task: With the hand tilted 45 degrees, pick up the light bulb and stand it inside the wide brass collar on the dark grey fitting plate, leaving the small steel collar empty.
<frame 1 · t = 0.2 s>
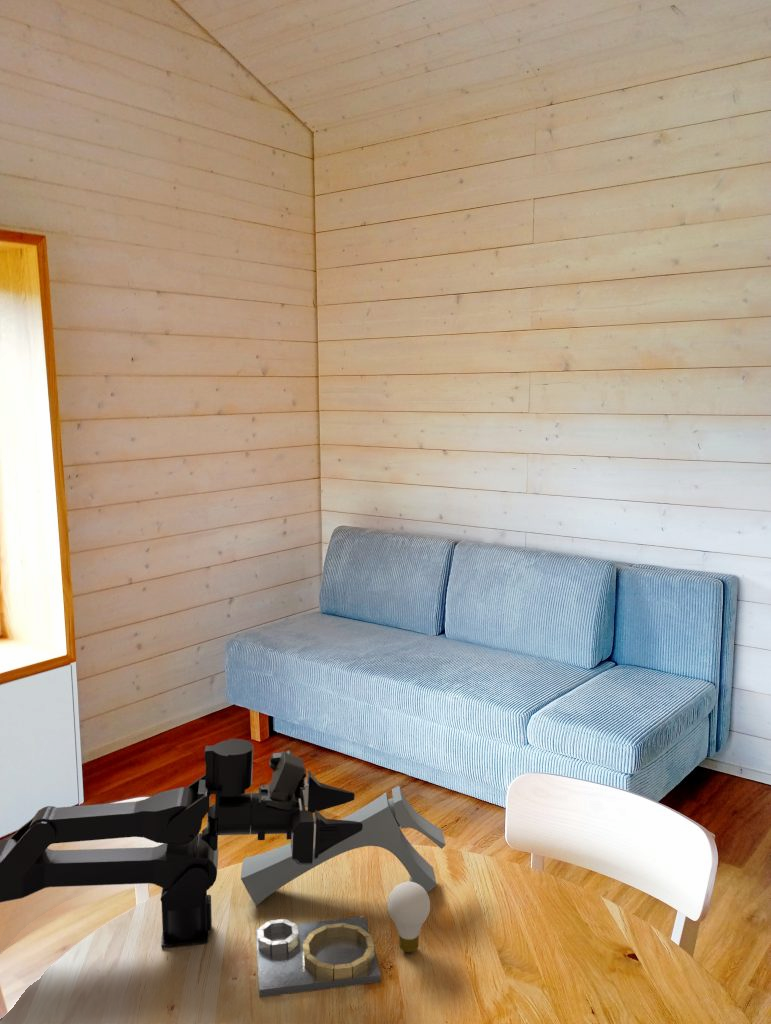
hand: (358, 810, 126), 17 cm above the table, tool horizontal, fingers open, 9 cm apart
fitting plate: (315, 957, 119), on the table
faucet: (343, 893, 134), on the table
light bulb: (408, 952, 120), on the table
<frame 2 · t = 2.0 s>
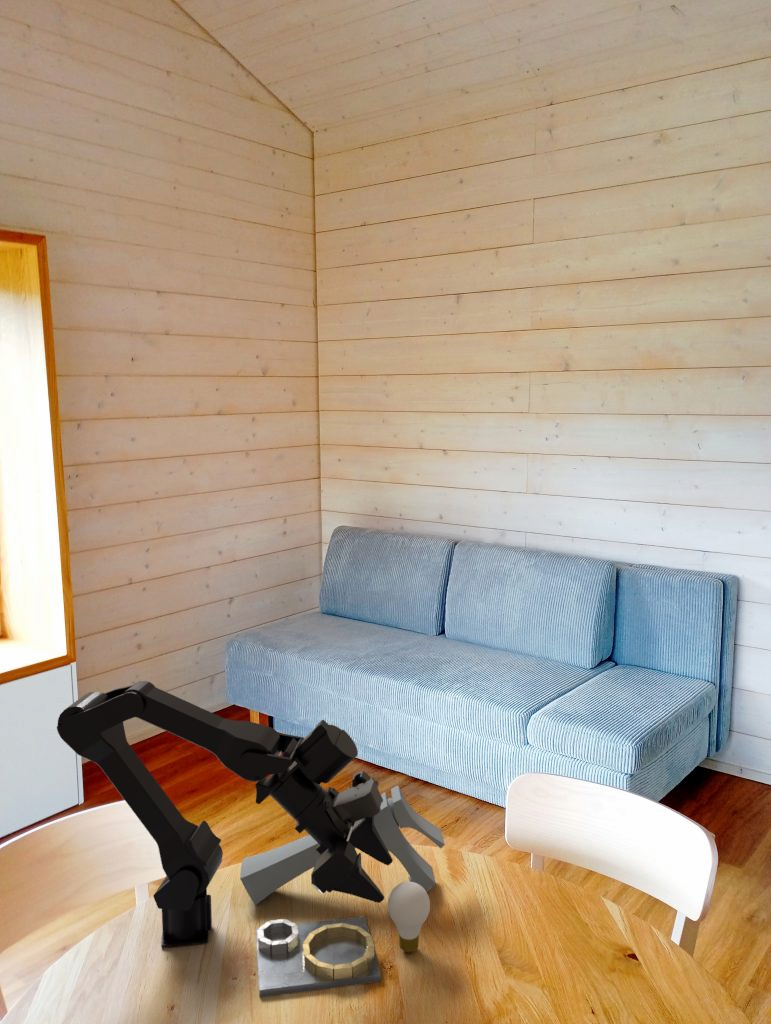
hand: (386, 881, 119), 10 cm above the table, tool tilted 45°, fingers open, 9 cm apart
nothing on the table moved.
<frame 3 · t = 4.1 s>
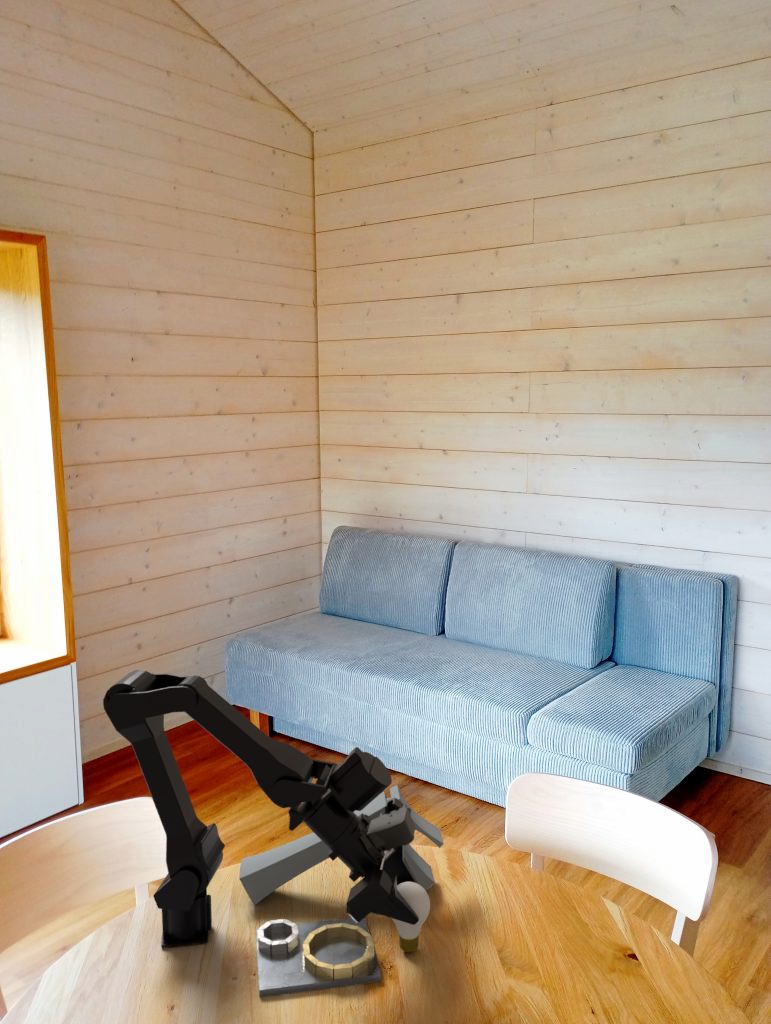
hand: (418, 908, 119), 7 cm above the table, tool tilted 45°, fingers closed on light bulb, 6 cm apart
light bulb: (408, 952, 120), on the table, touching gripper
everything else where it was.
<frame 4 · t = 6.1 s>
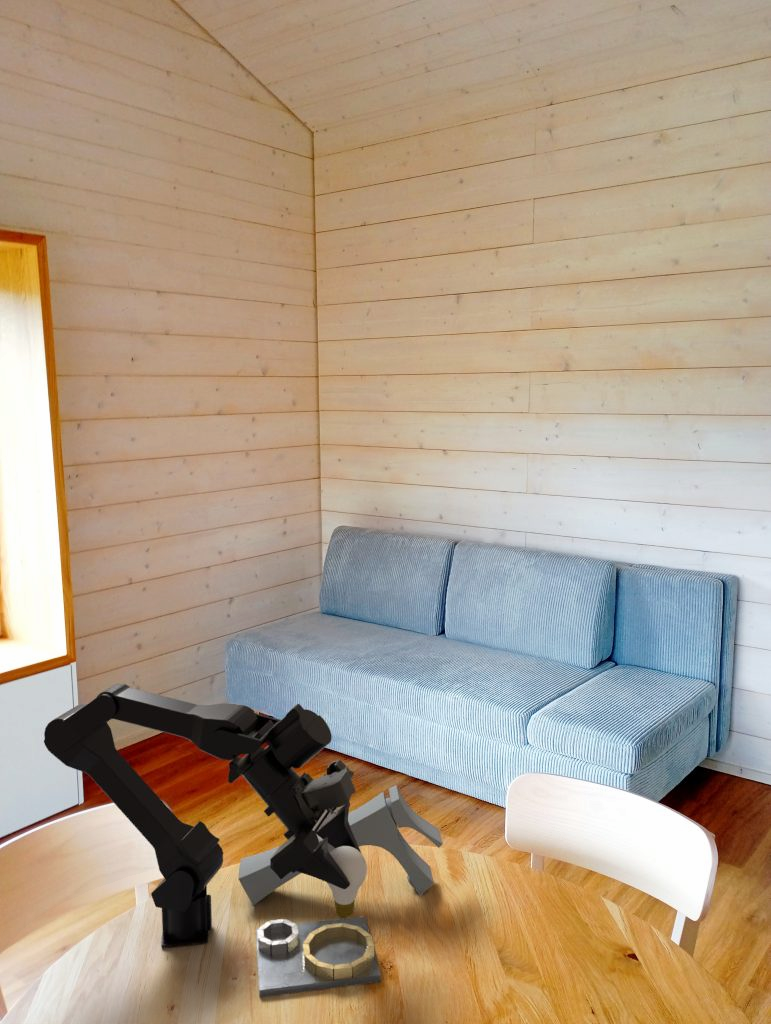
hand: (354, 874, 116), 13 cm above the table, tool tilted 45°, fingers closed on light bulb, 6 cm apart
light bulb: (344, 918, 117), point 6 cm above the table, touching gripper
everything else where it was.
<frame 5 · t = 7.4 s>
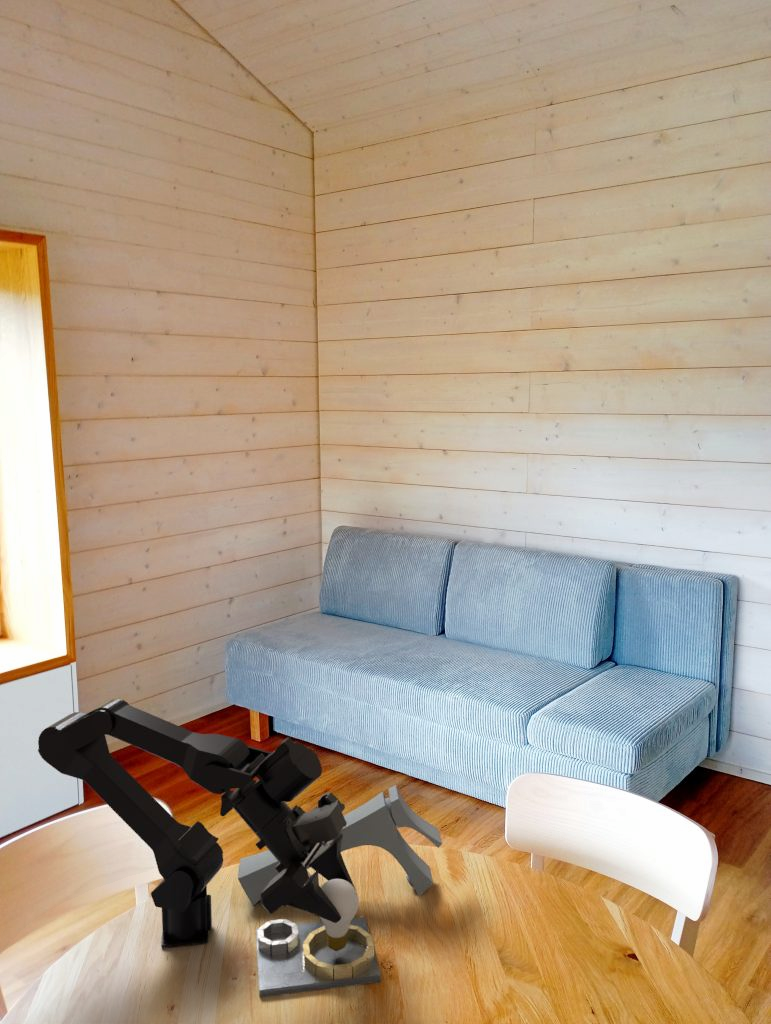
hand: (346, 907, 116), 8 cm above the table, tool tilted 45°, fingers closed on light bulb, 6 cm apart
light bulb: (336, 950, 117), point 2 cm above the table, touching gripper
everything else where it was.
when the fingers open (8 cm above the table, at t = 8.2 s): light bulb stays where it is, resting on fitting plate.
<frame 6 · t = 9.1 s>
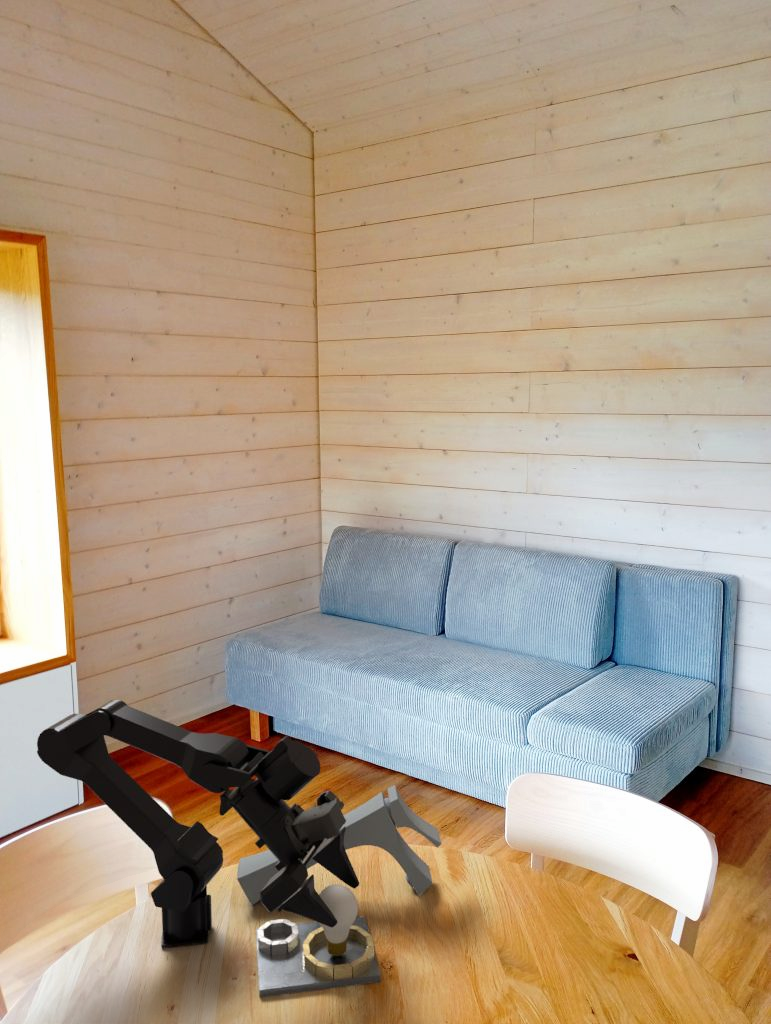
hand: (346, 905, 116), 9 cm above the table, tool tilted 45°, fingers open, 9 cm apart
light bulb: (337, 956, 118), point 1 cm above the table, touching fitting plate
everything else where it was.
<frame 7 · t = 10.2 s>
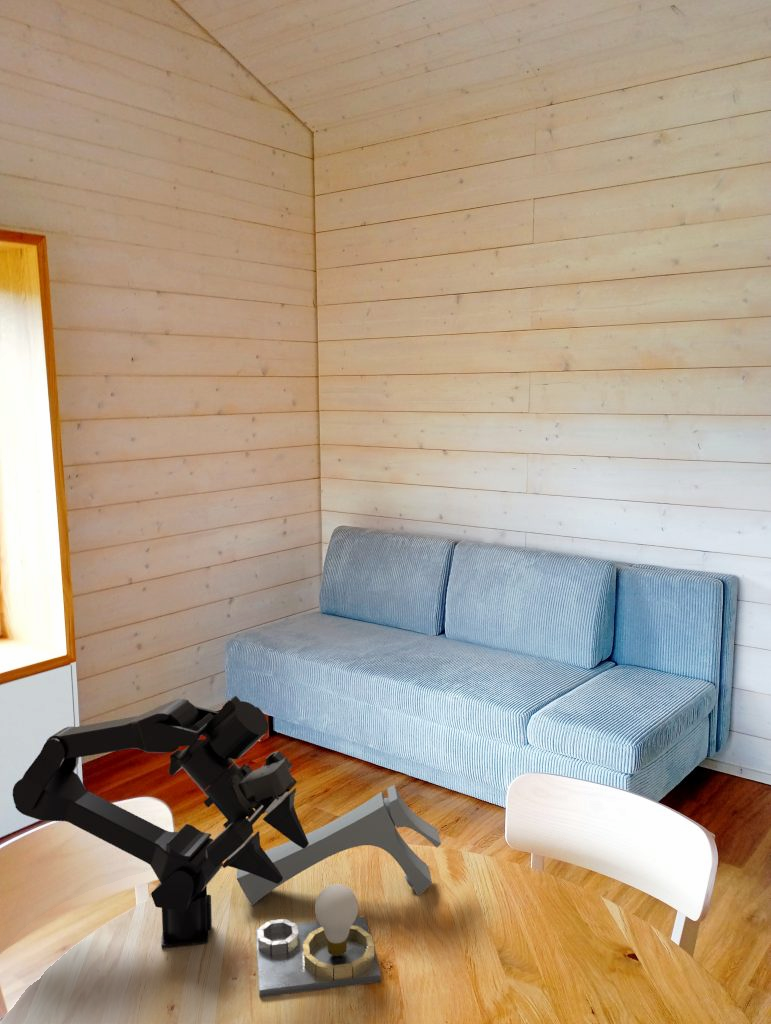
hand: (294, 863, 117), 14 cm above the table, tool tilted 45°, fingers open, 9 cm apart
nothing on the table moved.
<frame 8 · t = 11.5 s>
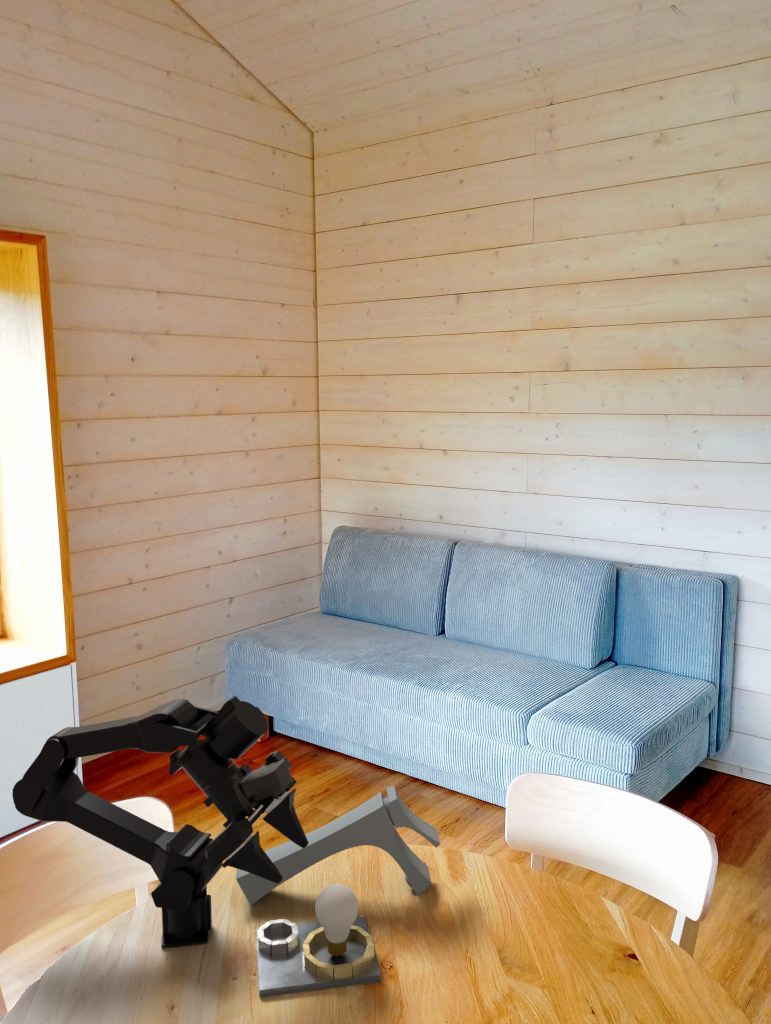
hand: (293, 863, 117), 14 cm above the table, tool tilted 45°, fingers open, 9 cm apart
nothing on the table moved.
at the end: light bulb 0.2 cm from the target spot on the fitting plate, point 0.8 cm above the fitting plate's base; light bulb tilted 0°; the gripper is holding nothing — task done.
